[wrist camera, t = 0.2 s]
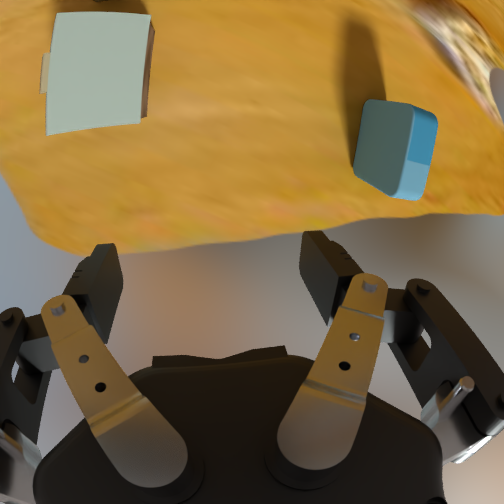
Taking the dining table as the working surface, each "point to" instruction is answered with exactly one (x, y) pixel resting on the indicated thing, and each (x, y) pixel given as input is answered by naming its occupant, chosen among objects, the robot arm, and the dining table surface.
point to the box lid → (94, 70)
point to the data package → (395, 148)
